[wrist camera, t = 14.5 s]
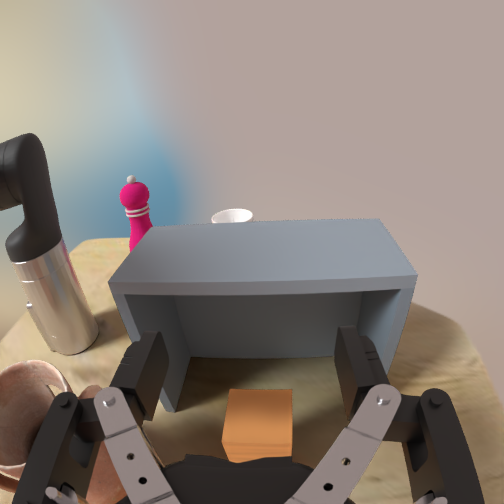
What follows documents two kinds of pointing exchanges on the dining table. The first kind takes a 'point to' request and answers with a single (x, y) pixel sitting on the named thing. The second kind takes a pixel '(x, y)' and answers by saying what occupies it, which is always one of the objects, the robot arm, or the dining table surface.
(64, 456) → the robot arm
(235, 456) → the orange block
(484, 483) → the dining table surface
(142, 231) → the pepper mill
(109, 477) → the ceramic jug
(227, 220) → the white cup
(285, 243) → the grey cubby
